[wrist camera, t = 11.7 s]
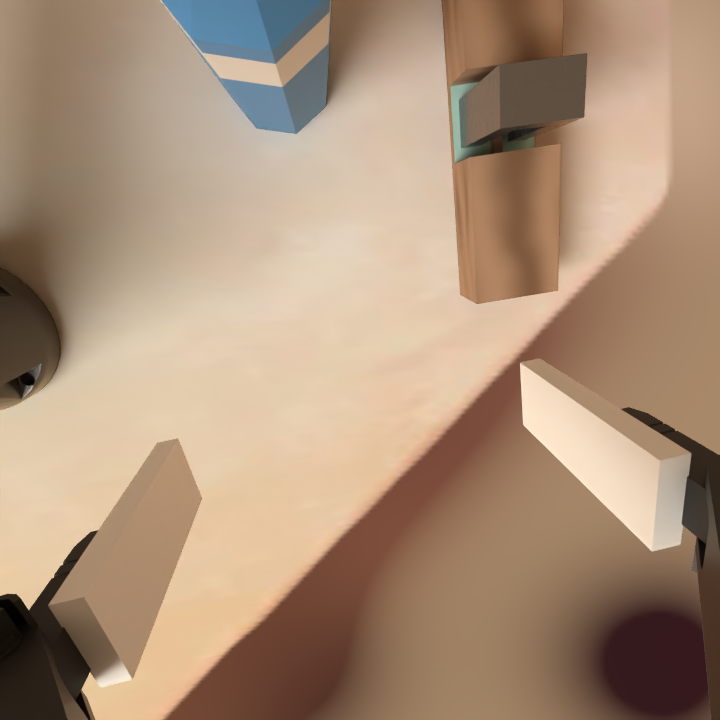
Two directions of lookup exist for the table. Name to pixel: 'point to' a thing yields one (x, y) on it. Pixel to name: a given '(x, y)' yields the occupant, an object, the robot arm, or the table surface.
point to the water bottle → (264, 54)
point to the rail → (502, 154)
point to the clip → (524, 100)
